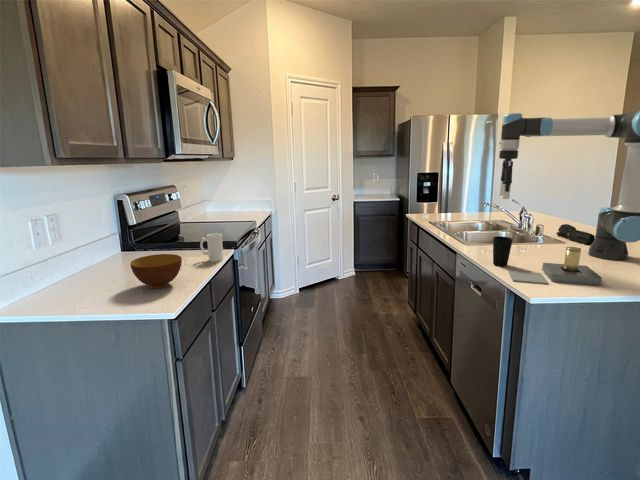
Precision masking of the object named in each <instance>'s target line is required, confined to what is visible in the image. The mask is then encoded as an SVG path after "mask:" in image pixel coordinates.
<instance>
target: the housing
mask: <svg viewBox="0 0 640 480" xmlns="http://www.w3.org/2000/svg"><path fill="white" fill-rule="evenodd" d="M563 268H564V263H555V262H554V263H553V262H551V263H550V262H542V269H541V270H542V271H543V273H544V274H545V276H547V278H548V279H549V280H550V281H551V283H562V284H563V283H564V284H575V285H576V284H577V285H585V286H586V285H588V286H601V285H602V280H603V278H602V277H601V276H600V275H599V274H598V273H596V272H595V271H594V270H593V269H591V267H589V266H588V265H582V264H581V265H580V264H579V266H578V272H565V271H563Z"/></svg>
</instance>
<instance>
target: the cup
mask: <svg viewBox="0 0 640 480" xmlns="http://www.w3.org/2000/svg"><path fill="white" fill-rule="evenodd" d="M513 241H514V240H513V238H511V237H508V236H498V235H497V236H493V237H492V265H493V264H494V265H495V267H498V266H500V267H499V268H506V267H508V262H509V258H510V253H511V249H512V244H513ZM494 265H493V266H494Z"/></svg>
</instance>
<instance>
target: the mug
mask: <svg viewBox="0 0 640 480" xmlns="http://www.w3.org/2000/svg"><path fill="white" fill-rule="evenodd" d="M204 242H206V243H207V251H206V250H205V249H204V246H203V244H204ZM199 247H200V250H201V252H202V254H203V255H207V256H208V260H209V262H211V263H212V262H215V263H216V262H217V263H218V262H221V261H223V260H224V253H223V252H224V251H223V234H222V233H218V232H217V233H216V232H215V233H208V234H206V237H201V240H200V244H199Z"/></svg>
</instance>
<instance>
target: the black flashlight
mask: <svg viewBox="0 0 640 480" xmlns="http://www.w3.org/2000/svg"><path fill="white" fill-rule="evenodd" d="M556 235H557V236H558V237H561V238H565V239H568V241H571V242H573V243H578V244H581V245H583V244H584V246H589V245H590V244H592V243H593V241H594V239H595V236H596V235H595V234H592V233H590V232H586V231H584V230H579V229H577V228H576V227H575V226H573V225H571V224H568V223H565V224H561V225H560V226H559V228H558V230H557V231H556ZM590 246H591V245H590Z"/></svg>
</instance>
